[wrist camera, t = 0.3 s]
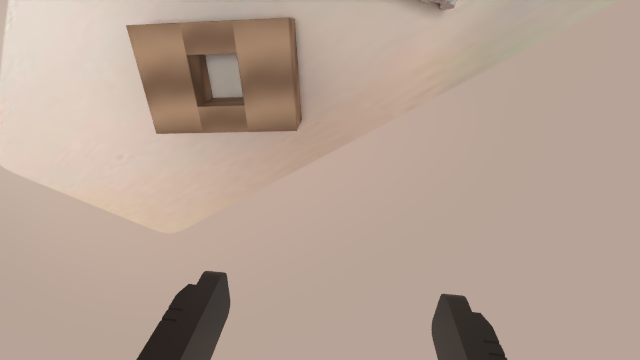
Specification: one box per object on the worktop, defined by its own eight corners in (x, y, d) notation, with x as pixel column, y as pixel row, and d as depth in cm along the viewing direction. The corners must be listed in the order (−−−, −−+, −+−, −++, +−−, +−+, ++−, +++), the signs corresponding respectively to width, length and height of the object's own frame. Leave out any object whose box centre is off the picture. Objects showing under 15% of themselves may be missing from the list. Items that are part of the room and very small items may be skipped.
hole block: (151, 25, 34) (126, 25, 30) (294, 18, 33) (288, 17, 29) (175, 122, 39) (156, 133, 35) (301, 119, 38) (296, 130, 34)
